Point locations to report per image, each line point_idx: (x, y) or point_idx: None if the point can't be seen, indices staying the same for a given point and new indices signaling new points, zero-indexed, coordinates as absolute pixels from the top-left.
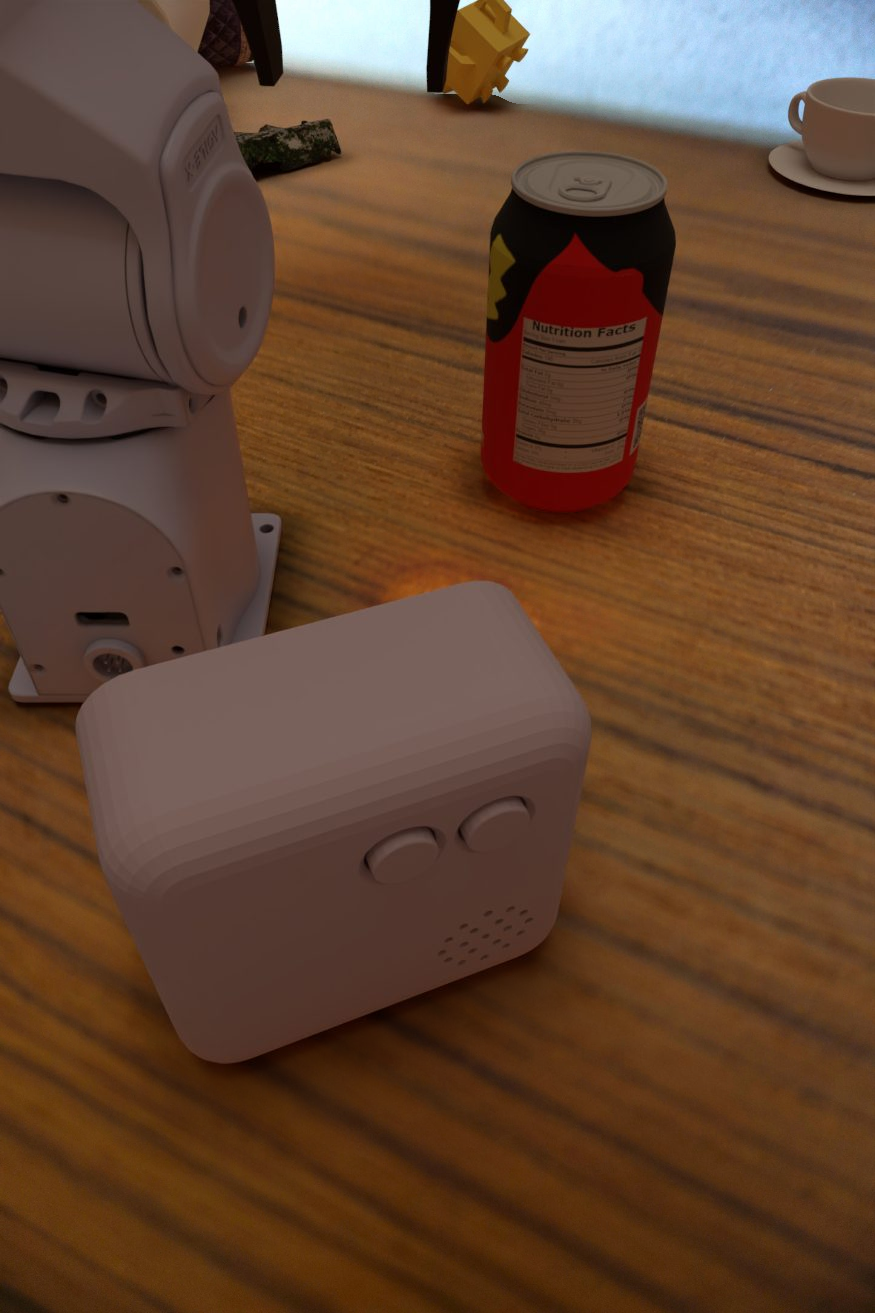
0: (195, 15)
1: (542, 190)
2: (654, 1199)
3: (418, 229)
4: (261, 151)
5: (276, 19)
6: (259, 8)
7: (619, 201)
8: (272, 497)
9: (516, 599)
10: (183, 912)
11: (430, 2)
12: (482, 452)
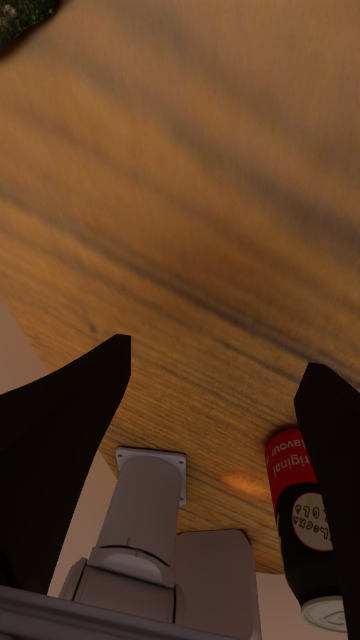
0: None
1: (315, 616)
2: (259, 566)
3: (271, 149)
4: None
5: (109, 366)
6: (99, 441)
7: None
8: (180, 440)
9: (252, 635)
10: None
11: (323, 500)
12: (265, 459)
